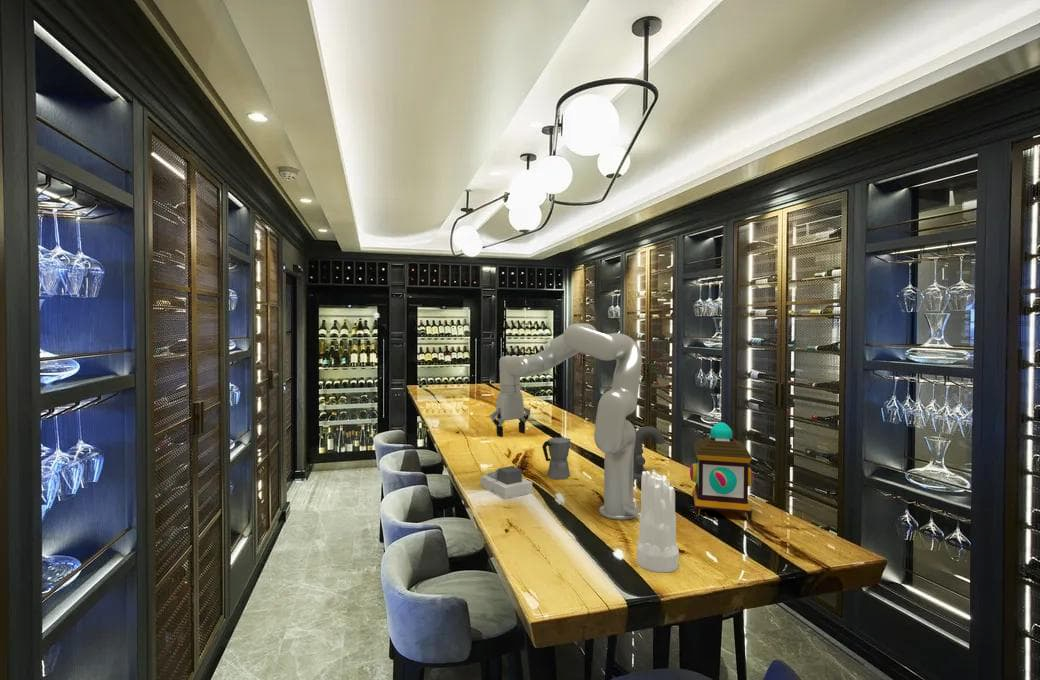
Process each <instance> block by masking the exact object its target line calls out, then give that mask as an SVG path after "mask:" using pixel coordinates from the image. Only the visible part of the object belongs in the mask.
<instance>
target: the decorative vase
mask: <svg viewBox="0 0 1040 680" xmlns="http://www.w3.org/2000/svg"><path fill="white" fill-rule="evenodd" d="M640 481H641V482H640V484H641V485H640V487H641V488H640V491H641V493H640V510H641V511H640V513H639V514H640V515H639V516H640V517H639V521H638V522H639V523H638V524H639V526H638V527H639V529H638V530H639V531H638V534H639V535H638V539H637V543H636V545H637V546H636V548H637V550H636V552H637V553H636V554H637V555H636V557H637V558H636V564H637V565H638V566H639V567H640V568H642V569H644V570H647V571H650V572H655V573H672V572H676V571H677V570H678V568H679V565H680V564H679V560H680V556H679V553H680V552H679V551H680V550H679V547H678V544H677V515H676V491H675V488H674V486H672V485H671V483H670V482H669V481H668V478H667V476H666V475H664V474H663V475H660V474H658V473H657V471H656V470H655V469H653V468H652V471H651V472H650V471H648V470H646V472H645V471H643V472H642V478H641V479H640Z"/></svg>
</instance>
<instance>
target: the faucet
mask: <svg viewBox="0 0 1040 680" xmlns="http://www.w3.org/2000/svg"><path fill="white" fill-rule="evenodd" d="M635 434H636V439H635V447H634V460H633V480H641V478H642V472H643V471H645V472H646V471H647V469H646V468H645V466H644V465H645V463H646V458H645V457H644V456H643V454H644V449H643V441H644V439H646V438H651V439H652V440H653V443H655V444H658V445H664V444H665V442H666V441H665V437H664V435H663V433H662V432H661V431H660V430H659V429H658V428H656V427H653V426H651V425H649V426H648V425H647V426H642V427H640V428H638V429H637V430H635Z"/></svg>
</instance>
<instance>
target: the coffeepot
mask: <svg viewBox="0 0 1040 680" xmlns="http://www.w3.org/2000/svg"><path fill="white" fill-rule="evenodd" d="M561 435H562V434H561V433H559V432H557V433H556V437H552V438H551V437H550V438H549V439H547V440H546V441H544V443H543V444H542V451H543V454H544V458H545V461H546V462H549V463H548V464H549V465H548V471H547V476H549V477H550V478H549V477H548V478H549V479H552V478H554V479H553V480H558V479H561V480H566V478H567V479H569V478H570V477H571V474H570V473H571V472H570V466H569V461H568V457H569V451H570V446H571V445H570V444H571V438H568V437H561ZM547 447H548V448H547ZM549 456H550V458H549ZM568 477H569V478H568Z"/></svg>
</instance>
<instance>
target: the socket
mask: <svg viewBox="0 0 1040 680" xmlns="http://www.w3.org/2000/svg"><path fill="white" fill-rule="evenodd" d="M480 487H481V488H483V489H485V490H487V491H489V492H491V493H493V494H494V495H497V496H499V497H501V498H503V499H504V500H507V499H511V498H515V497H516V496H517V497H520V495H521V496H524V494H526V495H529V493H530V494H533V481H531V480H528V479H525V478H523V477H522V482H519V483H514V484H509V485H506V484H504V483H502V482H500V481H498V479H495V478H493V477H490V476H488V475H487V474H484V475H480Z"/></svg>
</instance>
